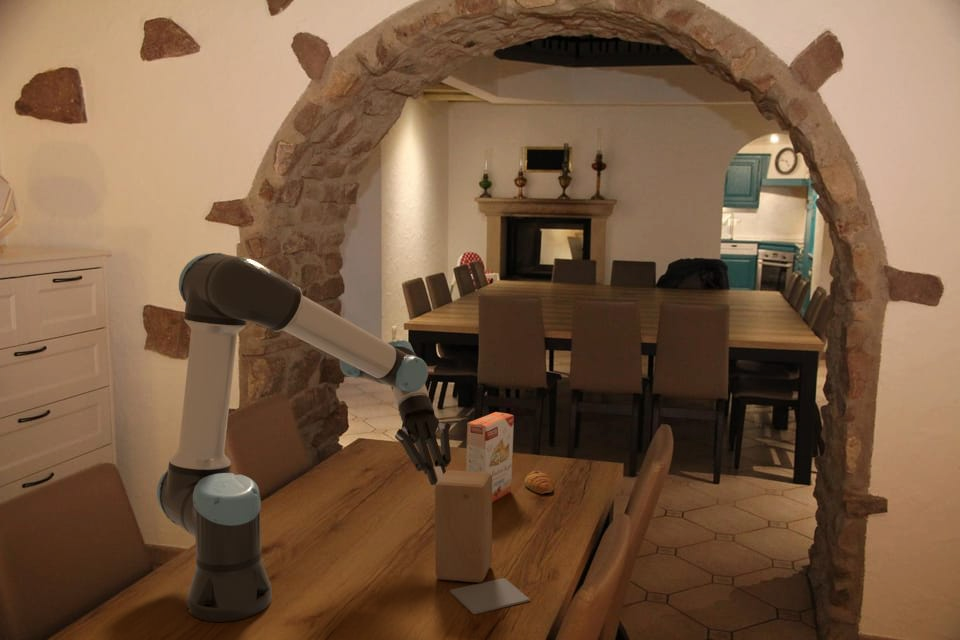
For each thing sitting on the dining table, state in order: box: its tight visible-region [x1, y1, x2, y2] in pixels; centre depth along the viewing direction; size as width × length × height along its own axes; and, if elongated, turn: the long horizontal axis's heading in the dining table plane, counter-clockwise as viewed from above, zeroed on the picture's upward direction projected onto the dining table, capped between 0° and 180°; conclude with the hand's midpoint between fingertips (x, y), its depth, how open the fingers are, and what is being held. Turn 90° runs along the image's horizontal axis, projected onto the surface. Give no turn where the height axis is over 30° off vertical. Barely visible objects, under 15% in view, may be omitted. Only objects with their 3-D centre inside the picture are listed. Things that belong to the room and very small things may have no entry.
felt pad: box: [449, 577, 531, 615], centre depth 163 cm, size 12×10×1 cm
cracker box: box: [465, 411, 515, 503], centre depth 215 cm, size 14×6×21 cm, turn 148°
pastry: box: [524, 470, 554, 495], centre depth 223 cm, size 9×7×4 cm
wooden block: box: [434, 469, 493, 583], centre depth 172 cm, size 10×10×20 cm
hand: (444, 496), depth 180 cm, fingers closed
